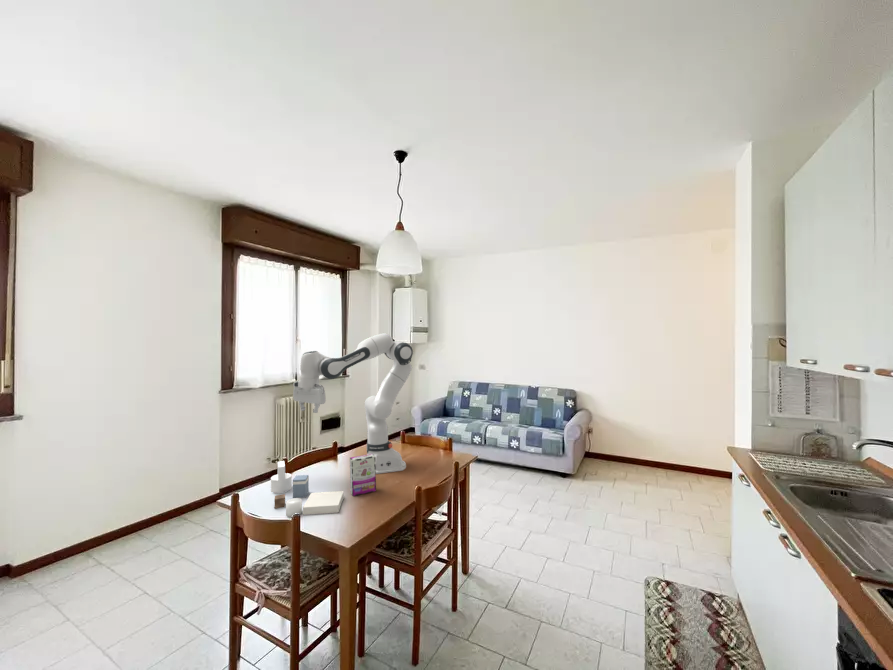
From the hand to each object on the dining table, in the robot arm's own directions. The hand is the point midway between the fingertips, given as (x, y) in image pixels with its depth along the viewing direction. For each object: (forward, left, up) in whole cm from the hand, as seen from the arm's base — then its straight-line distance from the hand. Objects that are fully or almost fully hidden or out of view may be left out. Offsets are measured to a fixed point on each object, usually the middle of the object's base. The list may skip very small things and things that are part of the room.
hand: (309, 411), depth 180 cm
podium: (-12, +27, -35) cm, 46 cm away
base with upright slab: (+12, +6, -36) cm, 38 cm away
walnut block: (+7, +24, -35) cm, 43 cm away
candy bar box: (-27, +15, -36) cm, 47 cm away
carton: (+1, +14, -35) cm, 38 cm away
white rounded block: (-1, +32, -35) cm, 48 cm away
